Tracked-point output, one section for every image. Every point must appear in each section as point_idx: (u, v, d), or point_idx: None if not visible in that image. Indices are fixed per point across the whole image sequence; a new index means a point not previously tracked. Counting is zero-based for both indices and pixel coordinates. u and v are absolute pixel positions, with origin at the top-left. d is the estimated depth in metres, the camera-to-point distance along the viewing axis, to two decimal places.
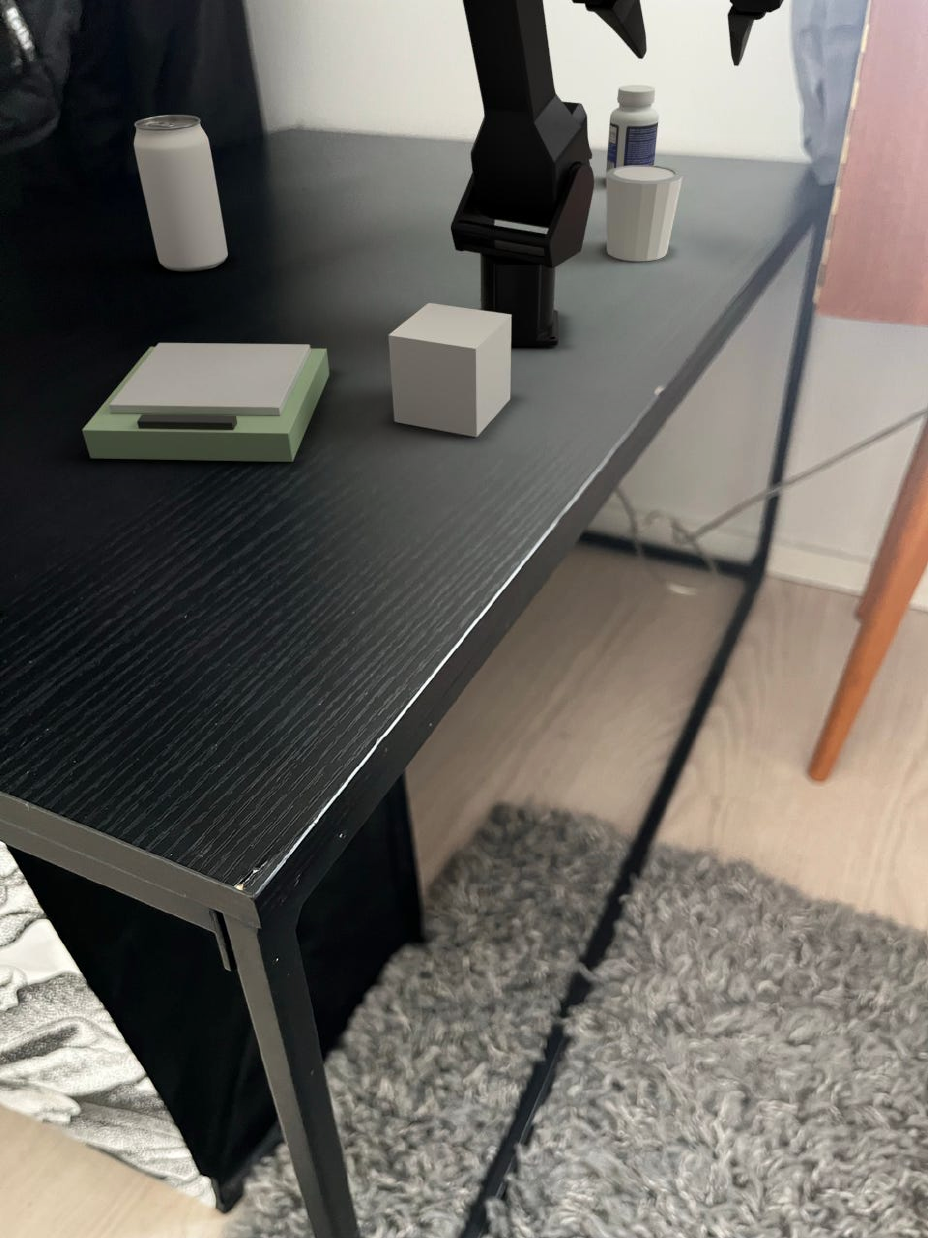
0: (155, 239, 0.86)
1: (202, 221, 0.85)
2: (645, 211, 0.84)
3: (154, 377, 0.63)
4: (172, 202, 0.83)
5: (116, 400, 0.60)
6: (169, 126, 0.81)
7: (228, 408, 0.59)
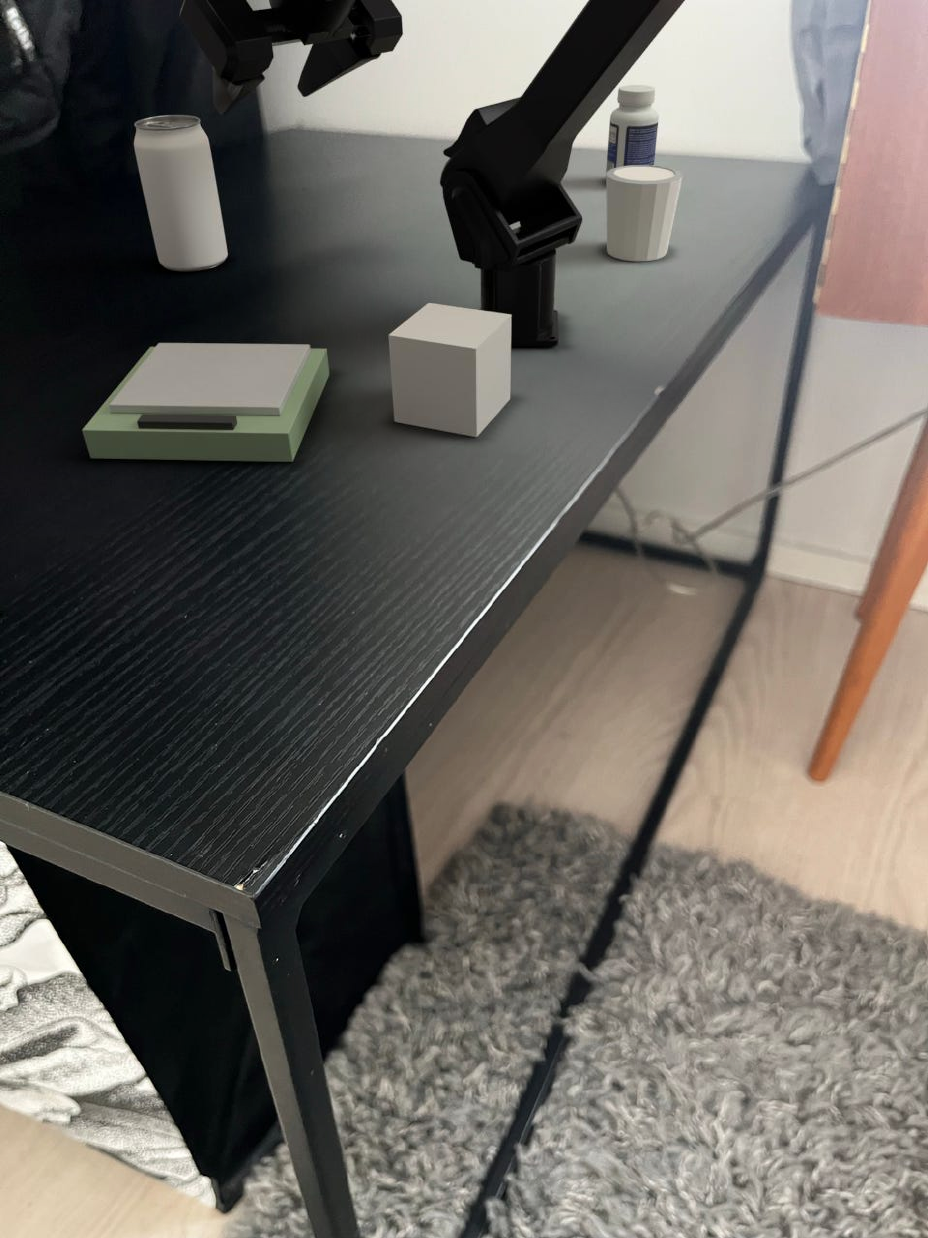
0: (155, 239, 0.86)
1: (202, 221, 0.85)
2: (645, 211, 0.84)
3: (154, 377, 0.63)
4: (172, 202, 0.83)
5: (116, 400, 0.60)
6: (169, 126, 0.81)
7: (228, 408, 0.59)
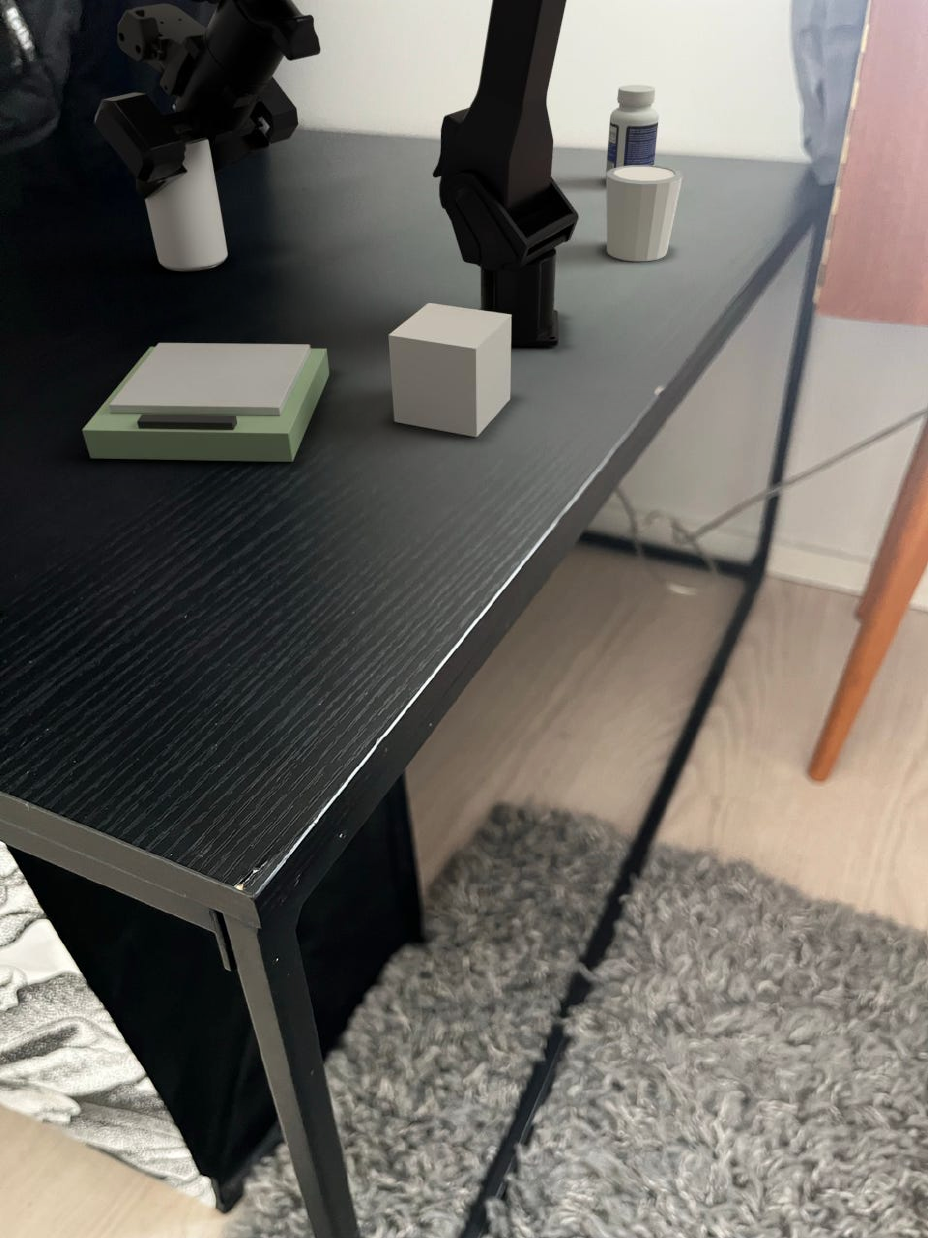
0: (155, 239, 0.86)
1: (202, 221, 0.85)
2: (645, 211, 0.84)
3: (154, 377, 0.63)
4: (172, 202, 0.83)
5: (116, 400, 0.60)
6: None
7: (228, 408, 0.59)
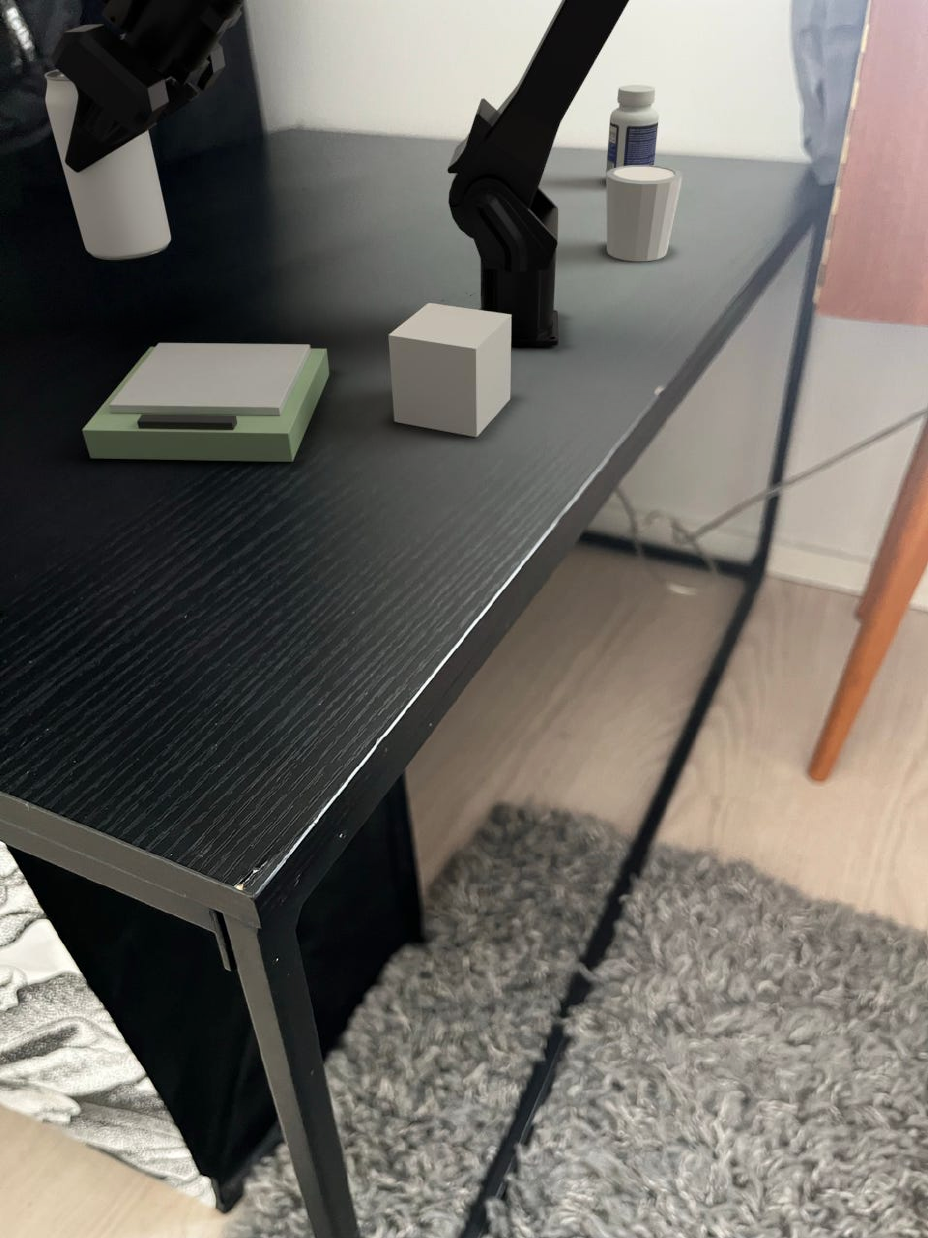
0: (90, 224, 0.69)
1: (152, 191, 0.69)
2: (645, 211, 0.84)
3: (154, 377, 0.63)
4: (119, 171, 0.67)
5: (116, 400, 0.60)
6: None
7: (228, 408, 0.59)
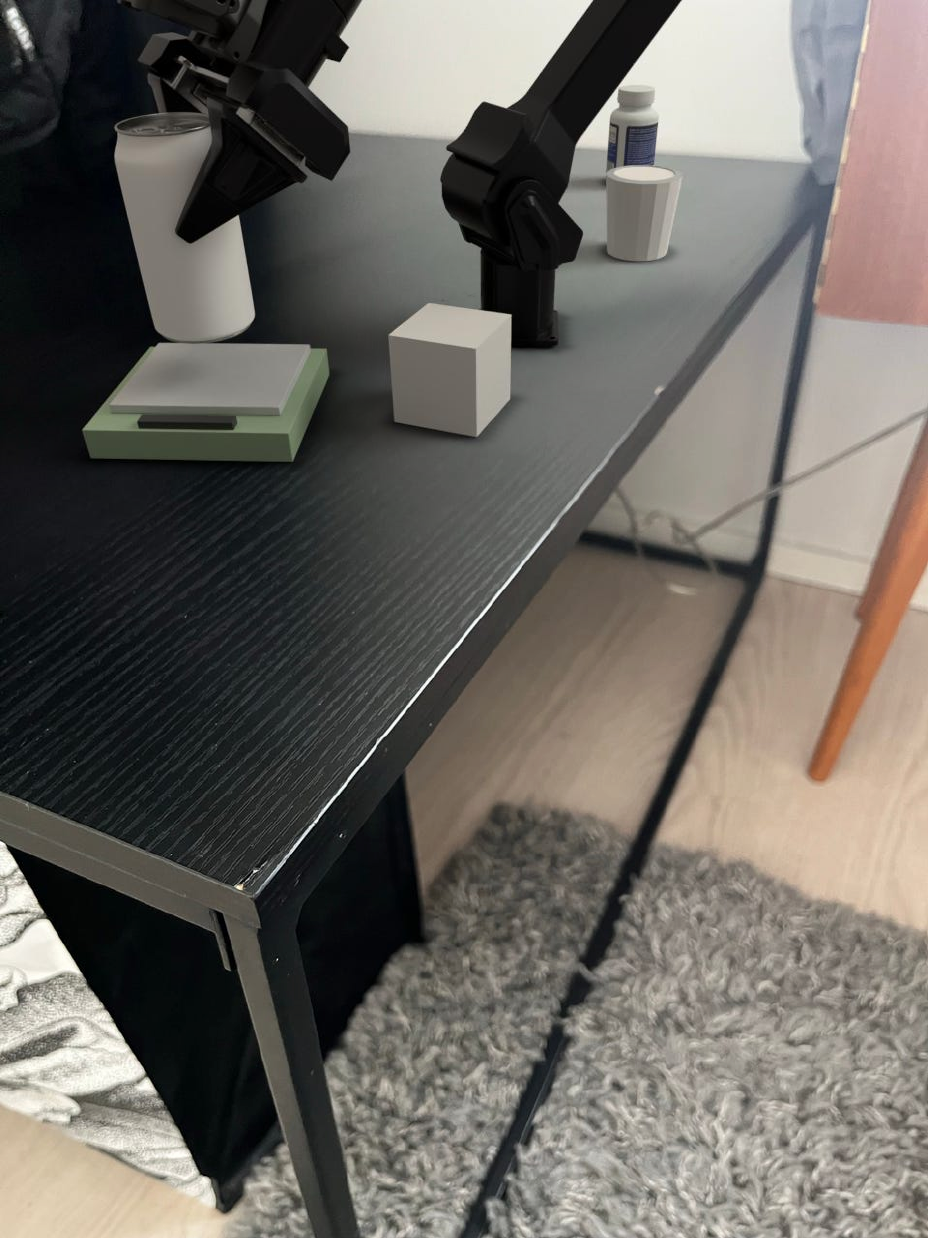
0: (194, 304, 0.57)
1: None
2: (645, 211, 0.84)
3: (154, 377, 0.63)
4: (229, 233, 0.56)
5: (116, 400, 0.60)
6: (177, 127, 0.54)
7: (228, 408, 0.59)
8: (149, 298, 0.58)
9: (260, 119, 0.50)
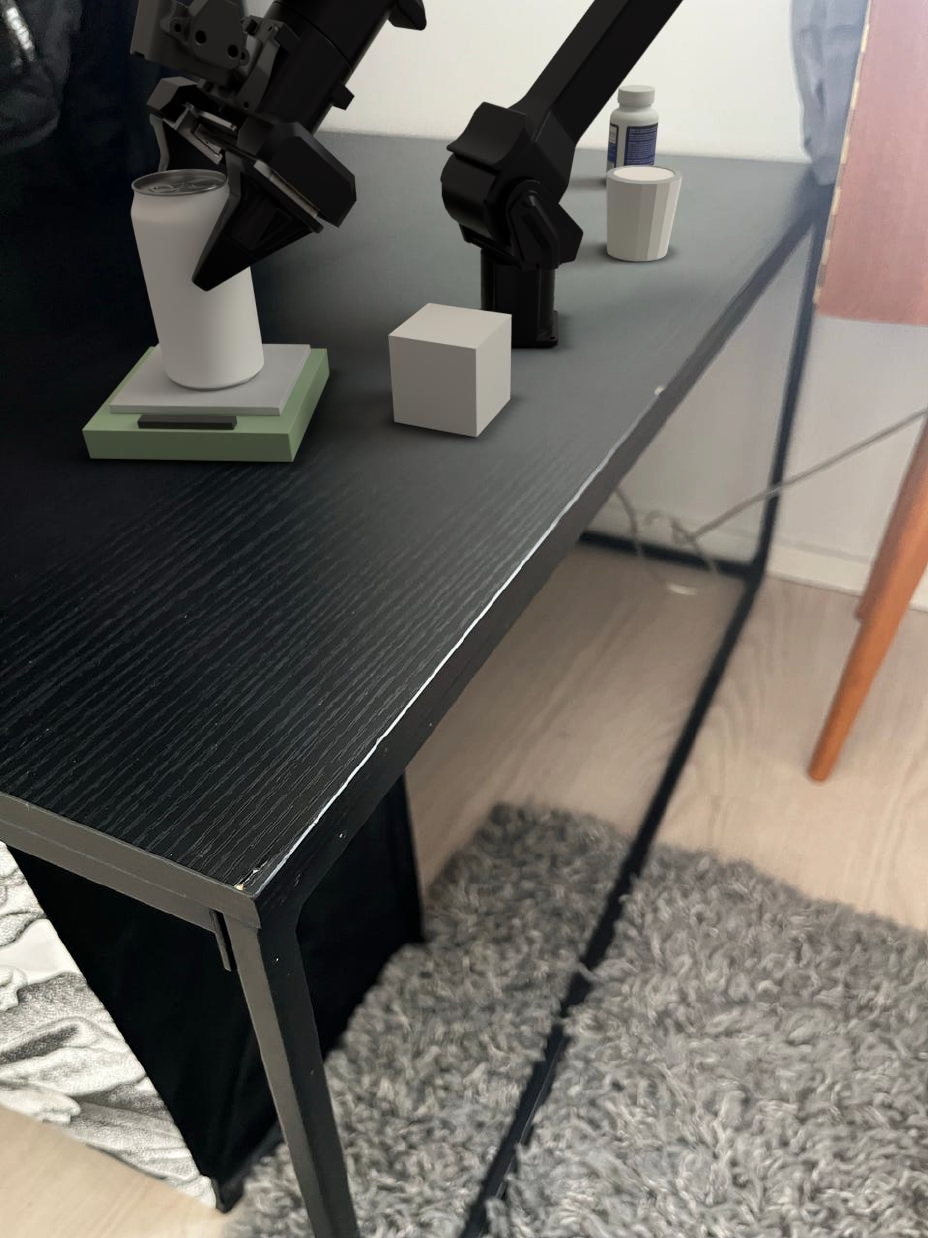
0: (207, 353, 0.59)
1: None
2: (645, 211, 0.84)
3: (154, 377, 0.63)
4: (242, 285, 0.58)
5: (116, 400, 0.60)
6: (192, 185, 0.56)
7: (228, 408, 0.59)
8: (162, 347, 0.60)
9: None
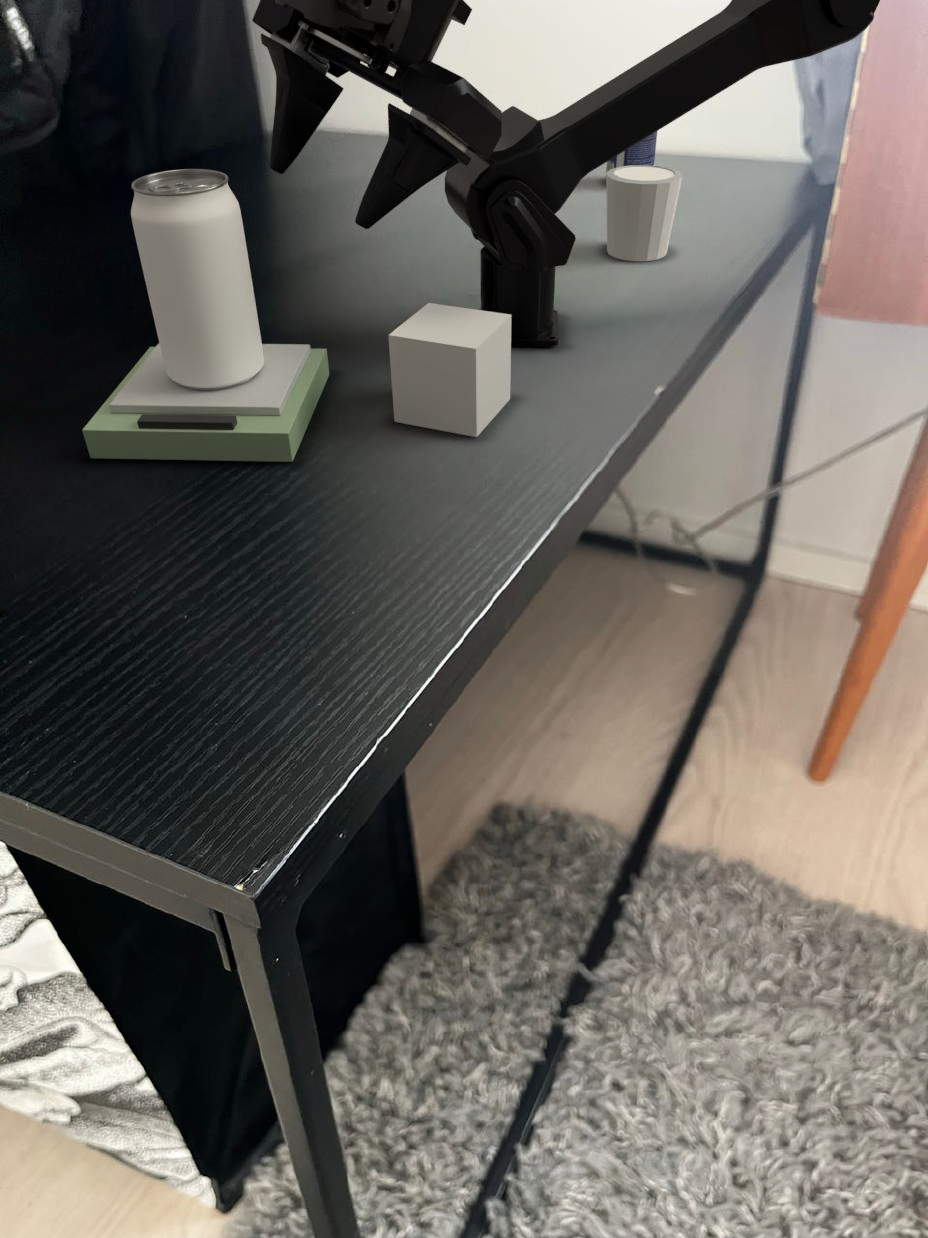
0: (207, 353, 0.59)
1: None
2: (645, 211, 0.84)
3: (154, 377, 0.63)
4: (241, 285, 0.58)
5: (116, 400, 0.60)
6: (192, 185, 0.56)
7: (228, 408, 0.59)
8: (162, 347, 0.60)
9: None
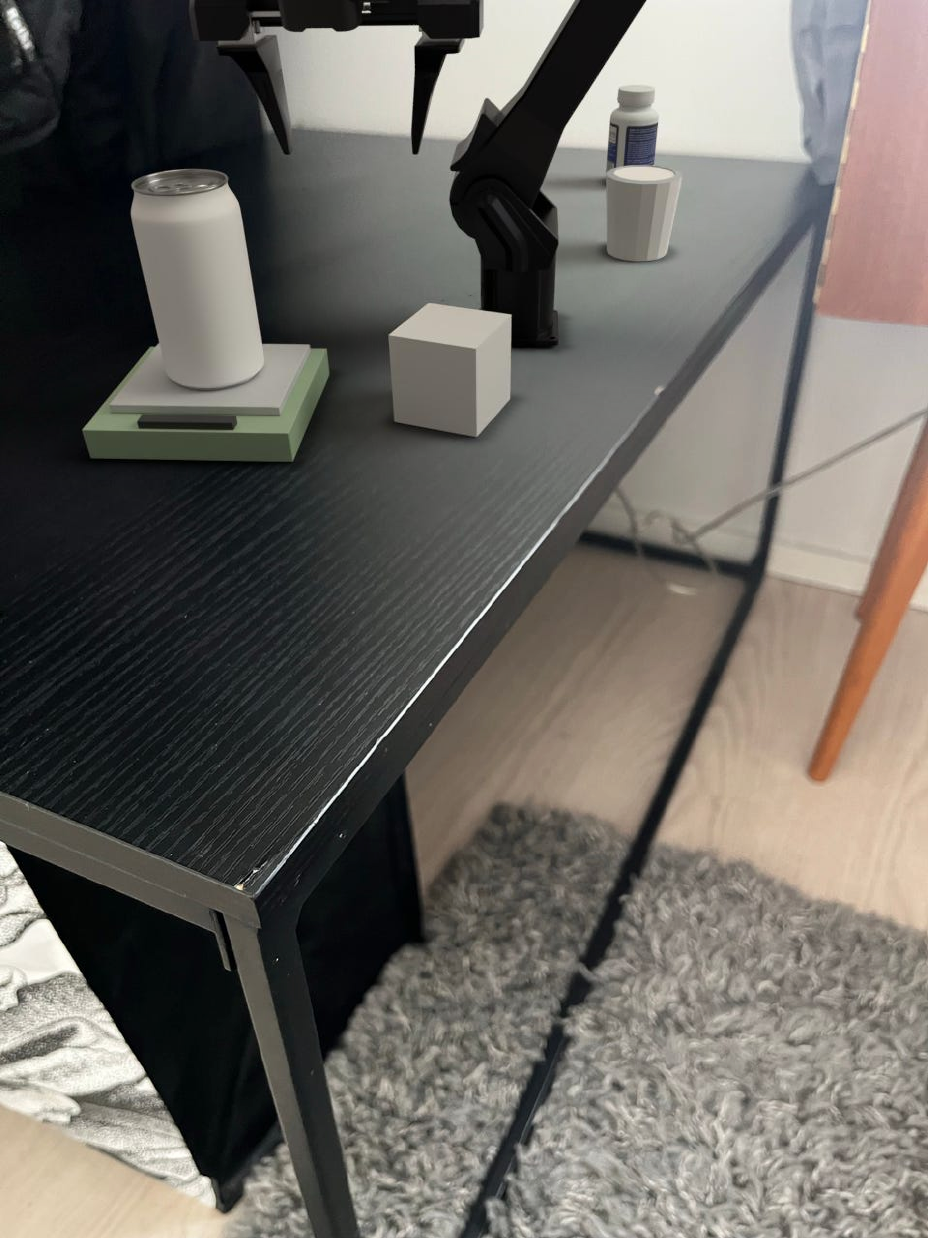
0: (207, 353, 0.59)
1: None
2: (645, 211, 0.84)
3: (154, 377, 0.63)
4: (241, 285, 0.58)
5: (116, 400, 0.60)
6: (192, 185, 0.56)
7: (228, 408, 0.59)
8: (162, 347, 0.60)
9: None
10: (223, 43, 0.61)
